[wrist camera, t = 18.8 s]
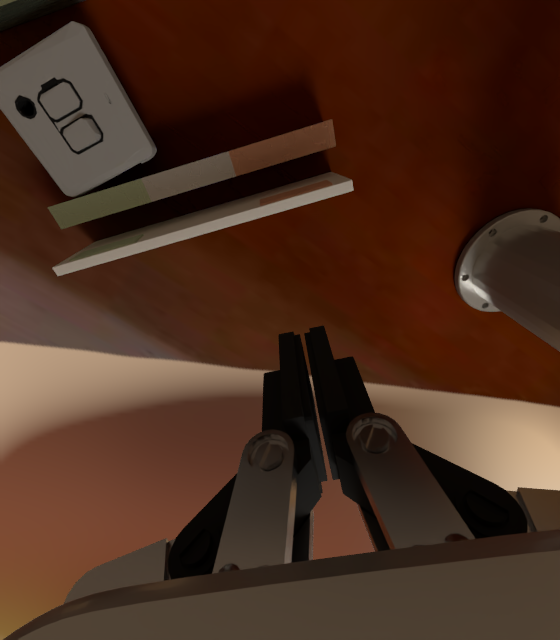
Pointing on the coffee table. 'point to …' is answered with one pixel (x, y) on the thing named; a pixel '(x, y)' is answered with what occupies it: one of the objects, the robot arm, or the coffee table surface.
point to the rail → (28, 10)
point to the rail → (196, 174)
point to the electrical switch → (73, 110)
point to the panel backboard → (207, 221)
